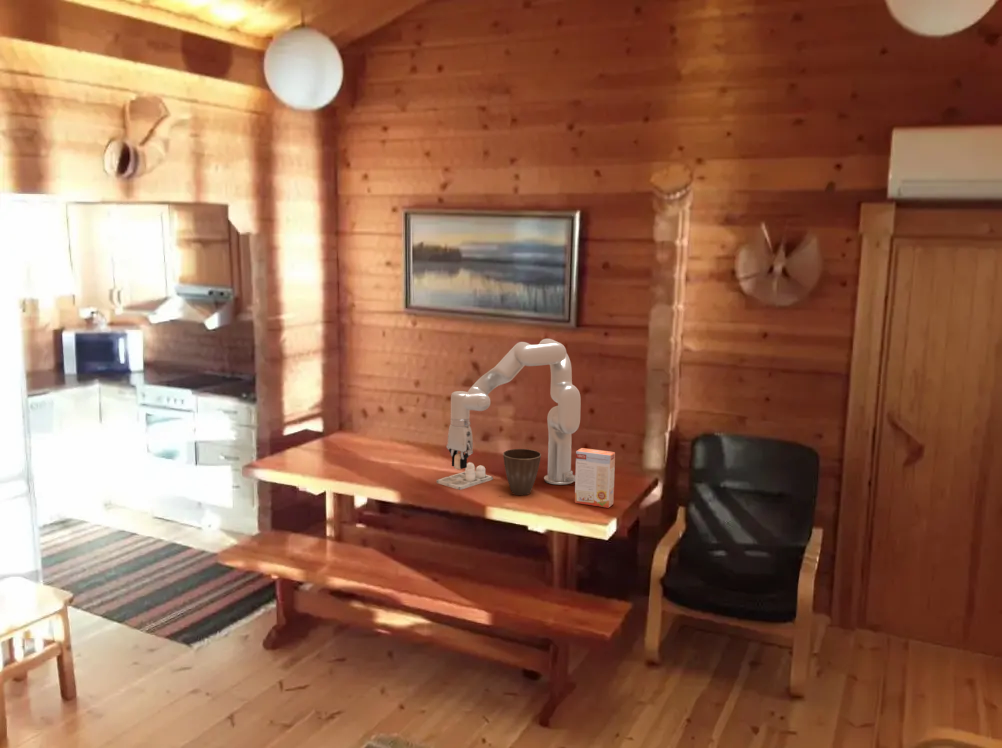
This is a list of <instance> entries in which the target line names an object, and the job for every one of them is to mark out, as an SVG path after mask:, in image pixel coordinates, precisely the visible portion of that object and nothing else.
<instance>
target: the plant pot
mask: <svg viewBox="0 0 1002 748" xmlns="http://www.w3.org/2000/svg"><path fill="white" fill-rule="evenodd" d="M502 456H503V464H504V468H505V474H506V475H505V476H506V478H507V479H506V480H507V482H508V485H509V488H510V491H511V493H512V494H513V495H516V496H528V495H529V494H530V493H531V491H532V489H533V487H534V484H535V482H536V479H537V475H538V471H539V467H540V462H541V458H542V457H541V456H542V454H541V452H539V451H538V450H537V451H536V450H534V449H528V448H527V449H526V448H512V449H508V450H506V451H504V452H503V453H502Z"/></svg>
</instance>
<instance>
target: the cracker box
mask: <svg viewBox="0 0 1002 748" xmlns="http://www.w3.org/2000/svg"><path fill="white" fill-rule="evenodd" d="M615 463H616V452H615V451H608V450H603V449H602V450H601V449H592V448H584V447H581V448H579V449H578V450H576V451H575V473H574V475H575V481H574V482H575V483H574V484H575V485H574V503H575V504H581V505H587V506H588V505H589V506H594V507H601V508H606V509H609V508H611V506H613V505H614V495H615V471H616V470H615V467H616V465H615Z"/></svg>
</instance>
